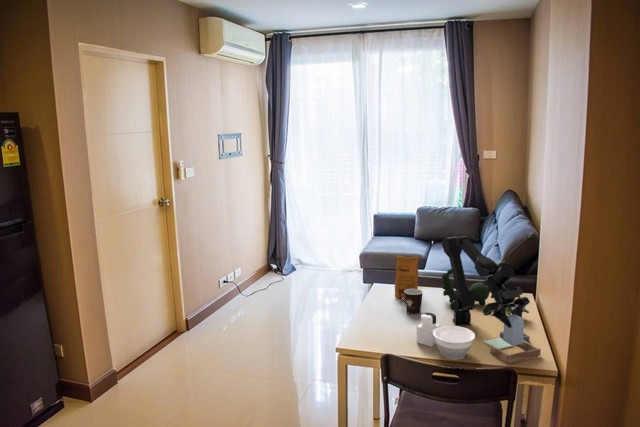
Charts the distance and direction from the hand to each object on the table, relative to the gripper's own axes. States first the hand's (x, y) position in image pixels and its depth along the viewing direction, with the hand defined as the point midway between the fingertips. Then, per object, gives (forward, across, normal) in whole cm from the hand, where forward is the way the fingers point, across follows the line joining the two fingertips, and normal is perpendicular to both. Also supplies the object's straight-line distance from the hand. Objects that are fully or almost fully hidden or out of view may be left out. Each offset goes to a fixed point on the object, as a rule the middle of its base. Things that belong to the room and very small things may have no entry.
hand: (516, 326), depth 187 cm
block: (+4, 0, +6) cm, 7 cm away
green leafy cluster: (-12, +23, +29) cm, 39 cm away
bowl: (+2, -21, +15) cm, 26 cm away
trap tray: (0, +10, +16) cm, 19 cm away
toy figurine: (-28, +17, +46) cm, 57 cm away
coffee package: (-44, -5, +61) cm, 75 cm away
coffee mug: (-31, -12, +49) cm, 59 cm away
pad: (+1, 0, +15) cm, 15 cm away
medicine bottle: (-8, -24, +25) cm, 35 cm away
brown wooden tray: (+8, 0, +8) cm, 12 cm away
